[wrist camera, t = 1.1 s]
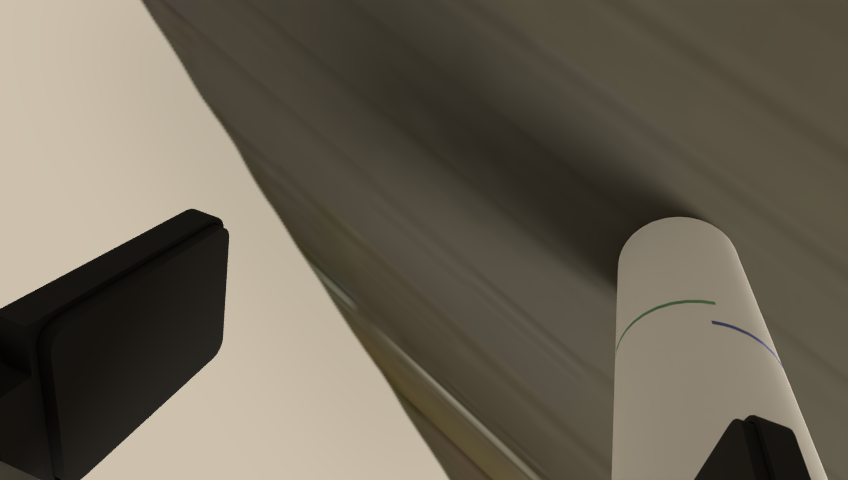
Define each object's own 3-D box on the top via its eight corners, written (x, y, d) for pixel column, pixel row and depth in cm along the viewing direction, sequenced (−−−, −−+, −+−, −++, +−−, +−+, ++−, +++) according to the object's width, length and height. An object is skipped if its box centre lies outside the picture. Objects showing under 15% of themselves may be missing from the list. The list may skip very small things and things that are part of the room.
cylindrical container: (707, 332, 38) (813, 793, 17) (601, 294, 40) (572, 677, 18) (760, 239, 35) (979, 664, 13) (643, 201, 36) (668, 533, 15)
